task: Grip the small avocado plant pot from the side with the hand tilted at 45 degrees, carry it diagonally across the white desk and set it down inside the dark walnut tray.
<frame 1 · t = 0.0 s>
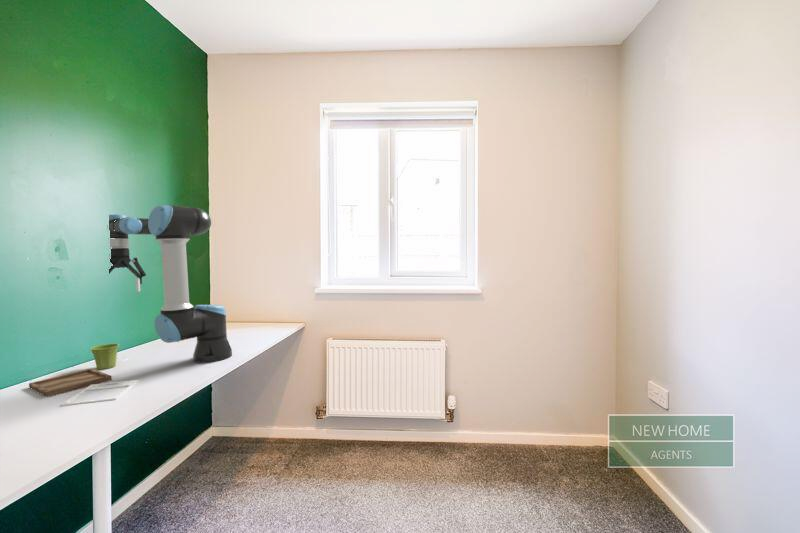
hand: (122, 293, 178), 28 cm above the table, tool pointing down, fingers open, 13 cm apart
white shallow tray: (103, 394, 127), on the table
walnut tray: (71, 383, 136), on the table
plant pot: (106, 367, 155), on the table
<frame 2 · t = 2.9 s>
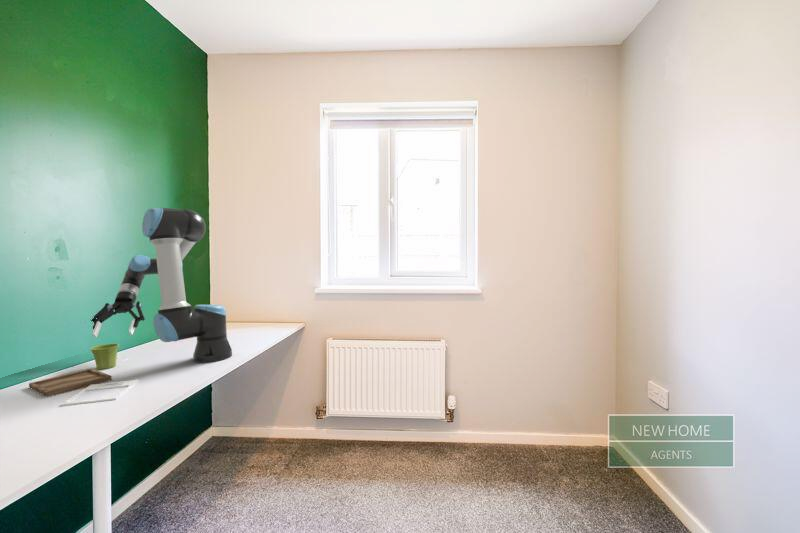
hand: (112, 334, 162), 12 cm above the table, tool tilted 45°, fingers open, 13 cm apart
nothing on the table moved.
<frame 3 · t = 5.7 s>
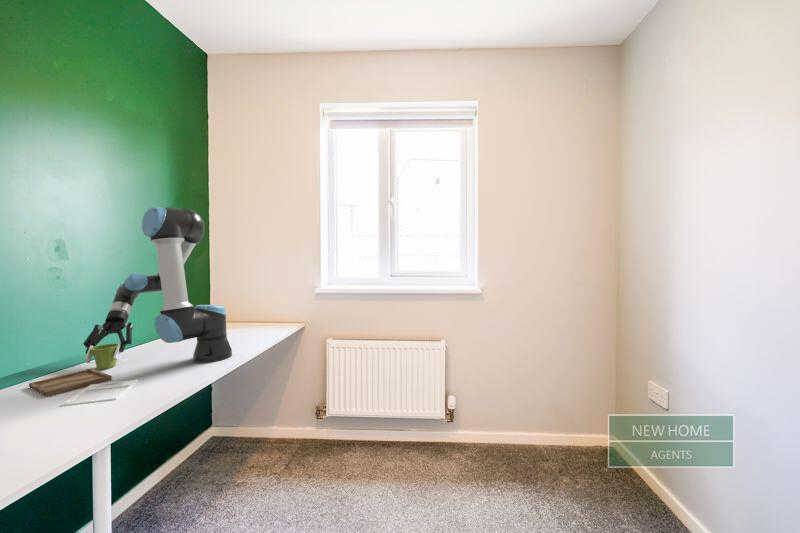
hand: (101, 360, 152), 4 cm above the table, tool tilted 45°, fingers closed on plant pot, 9 cm apart
plant pot: (106, 367, 155), on the table, touching gripper
everything else where it was.
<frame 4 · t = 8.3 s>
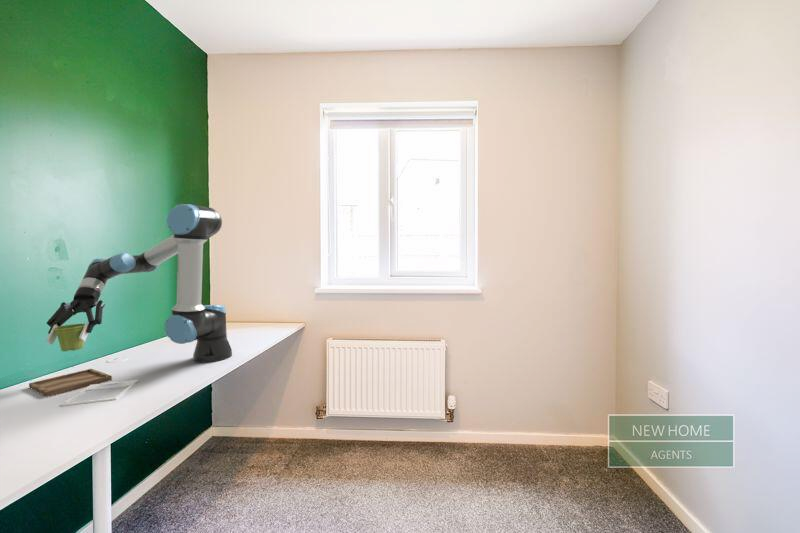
hand: (65, 341, 135), 16 cm above the table, tool tilted 45°, fingers closed on plant pot, 9 cm apart
plant pot: (72, 350, 139), point 12 cm above the table, touching gripper
everything else where it was.
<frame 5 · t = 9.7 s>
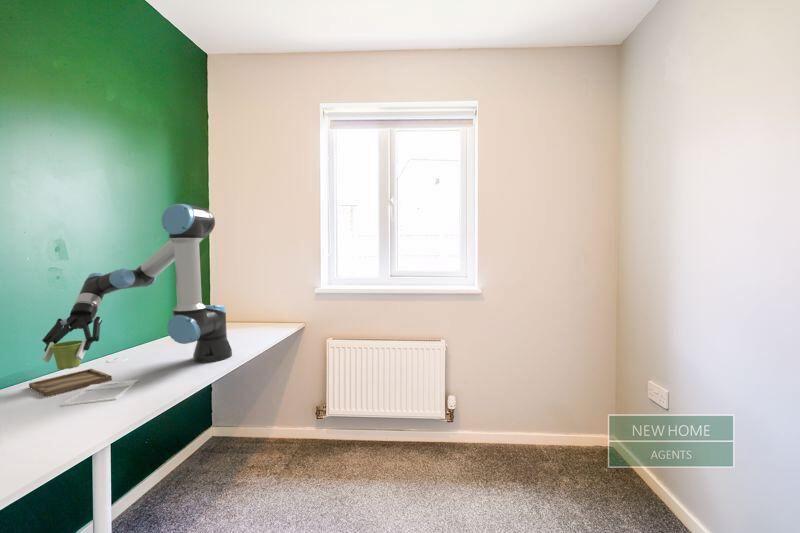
hand: (62, 359, 133), 10 cm above the table, tool tilted 45°, fingers closed on plant pot, 9 cm apart
plant pot: (68, 367, 136), point 6 cm above the table, touching gripper
everything else where it was.
when the fingers open (6 cm above the table, at t = 10.9 s): plant pot drops 1 cm, resting on walnut tray.
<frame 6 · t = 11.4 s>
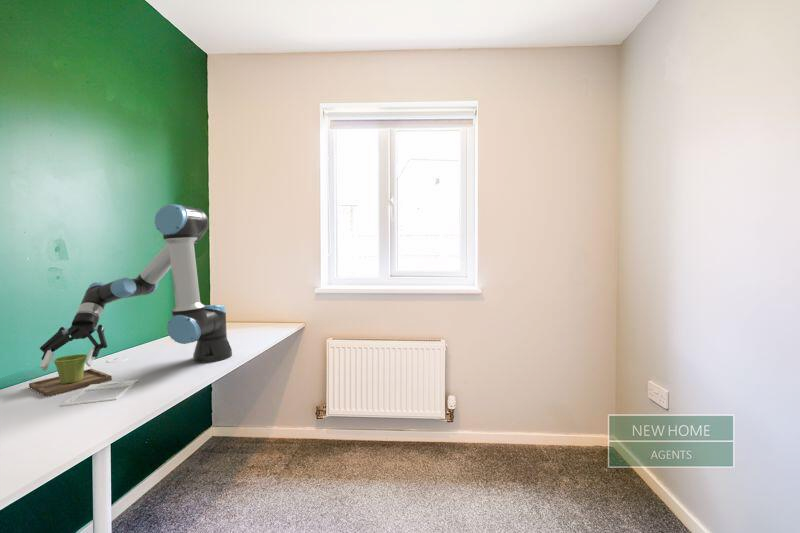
hand: (65, 366, 133), 7 cm above the table, tool tilted 45°, fingers open, 13 cm apart
plant pot: (71, 381, 136), point 1 cm above the table, touching walnut tray
everything else where it was.
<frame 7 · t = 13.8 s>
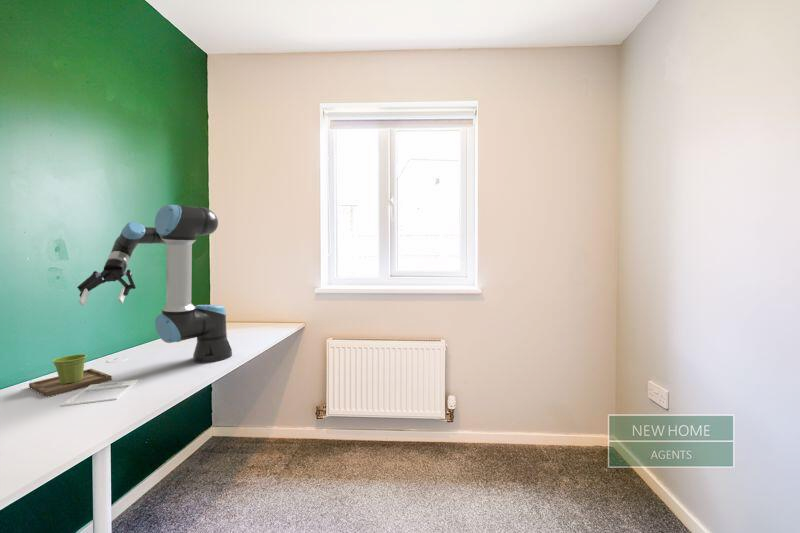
hand: (100, 302, 152), 27 cm above the table, tool tilted 45°, fingers open, 13 cm apart
nothing on the table moved.
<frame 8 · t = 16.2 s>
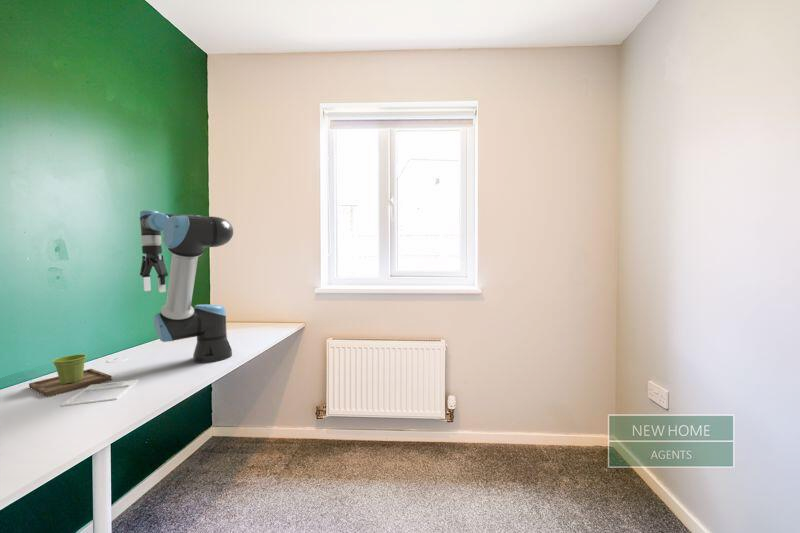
hand: (154, 291, 172), 29 cm above the table, tool pointing down, fingers open, 13 cm apart
nothing on the table moved.
at the end: plant pot inside the target area on the walnut tray (0.1 cm from its centre), point 0.6 cm above the walnut tray's base; plant pot tilted 0°; the gripper is holding nothing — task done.
